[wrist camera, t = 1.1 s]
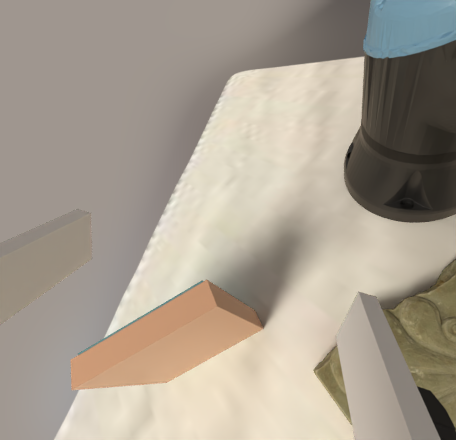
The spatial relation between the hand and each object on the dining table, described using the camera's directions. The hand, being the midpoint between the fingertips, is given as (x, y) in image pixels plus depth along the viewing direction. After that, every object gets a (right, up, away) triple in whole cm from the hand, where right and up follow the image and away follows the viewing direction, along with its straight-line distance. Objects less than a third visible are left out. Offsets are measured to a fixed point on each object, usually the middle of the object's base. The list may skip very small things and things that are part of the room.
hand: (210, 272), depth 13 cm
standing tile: (-1, -13, +20) cm, 24 cm away
